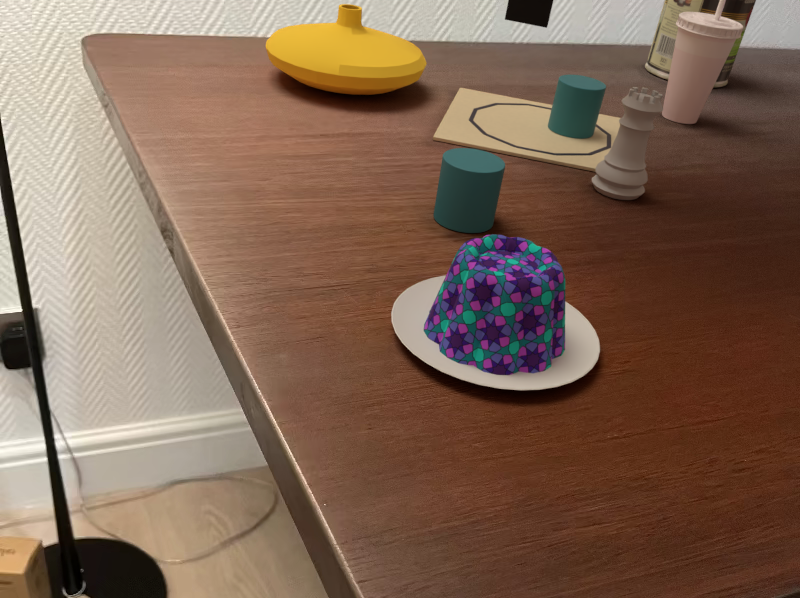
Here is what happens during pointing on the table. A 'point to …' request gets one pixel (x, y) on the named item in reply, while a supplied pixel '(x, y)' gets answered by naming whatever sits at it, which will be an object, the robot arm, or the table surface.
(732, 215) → the table surface
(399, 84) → the vase
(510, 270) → the pudding
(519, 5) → the robot arm
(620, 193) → the rook chess piece
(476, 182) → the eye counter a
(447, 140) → the sheet
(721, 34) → the smoothie
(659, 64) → the coffee can
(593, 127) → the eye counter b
